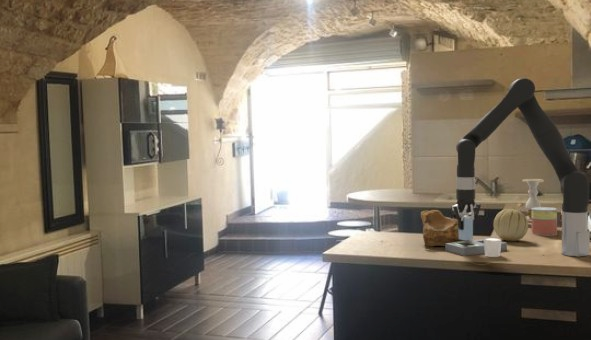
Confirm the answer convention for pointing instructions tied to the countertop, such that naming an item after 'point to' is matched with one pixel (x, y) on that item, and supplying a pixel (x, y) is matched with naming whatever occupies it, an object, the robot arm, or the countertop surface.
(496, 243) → the shot glass
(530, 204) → the candle holder
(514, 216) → the cantaloupe
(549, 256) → the countertop surface
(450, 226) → the rough brown rock
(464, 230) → the light blue cylinder
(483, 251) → the socket panel
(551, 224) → the canned food
